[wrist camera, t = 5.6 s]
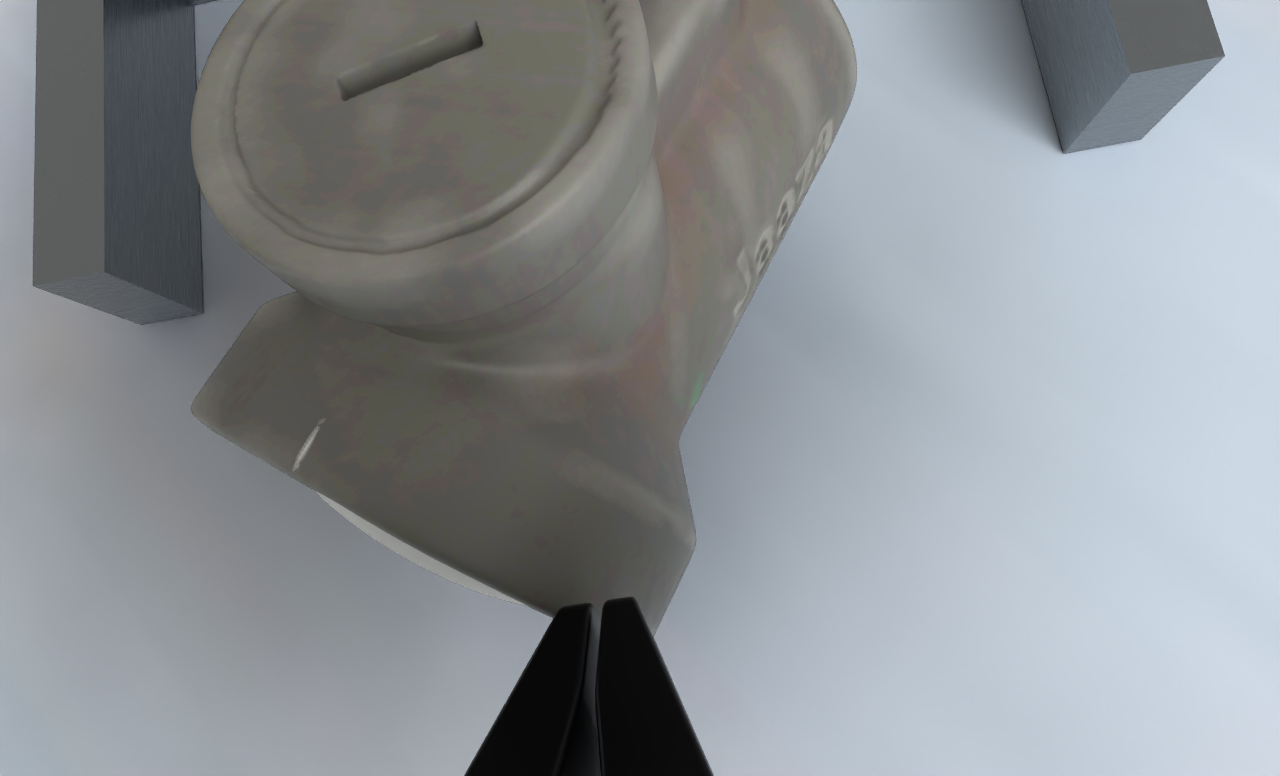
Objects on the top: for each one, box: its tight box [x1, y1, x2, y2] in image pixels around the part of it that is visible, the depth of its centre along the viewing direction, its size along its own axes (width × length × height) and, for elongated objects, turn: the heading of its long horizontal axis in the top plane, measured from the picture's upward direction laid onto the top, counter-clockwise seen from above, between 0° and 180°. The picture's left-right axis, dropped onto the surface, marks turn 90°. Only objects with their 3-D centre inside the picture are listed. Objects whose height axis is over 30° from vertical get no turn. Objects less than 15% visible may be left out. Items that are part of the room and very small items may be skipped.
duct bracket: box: [33, 0, 1225, 325], centre depth 18 cm, size 10×23×3 cm, turn 98°
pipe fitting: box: [191, 0, 857, 636], centre depth 13 cm, size 12×8×10 cm, turn 152°
